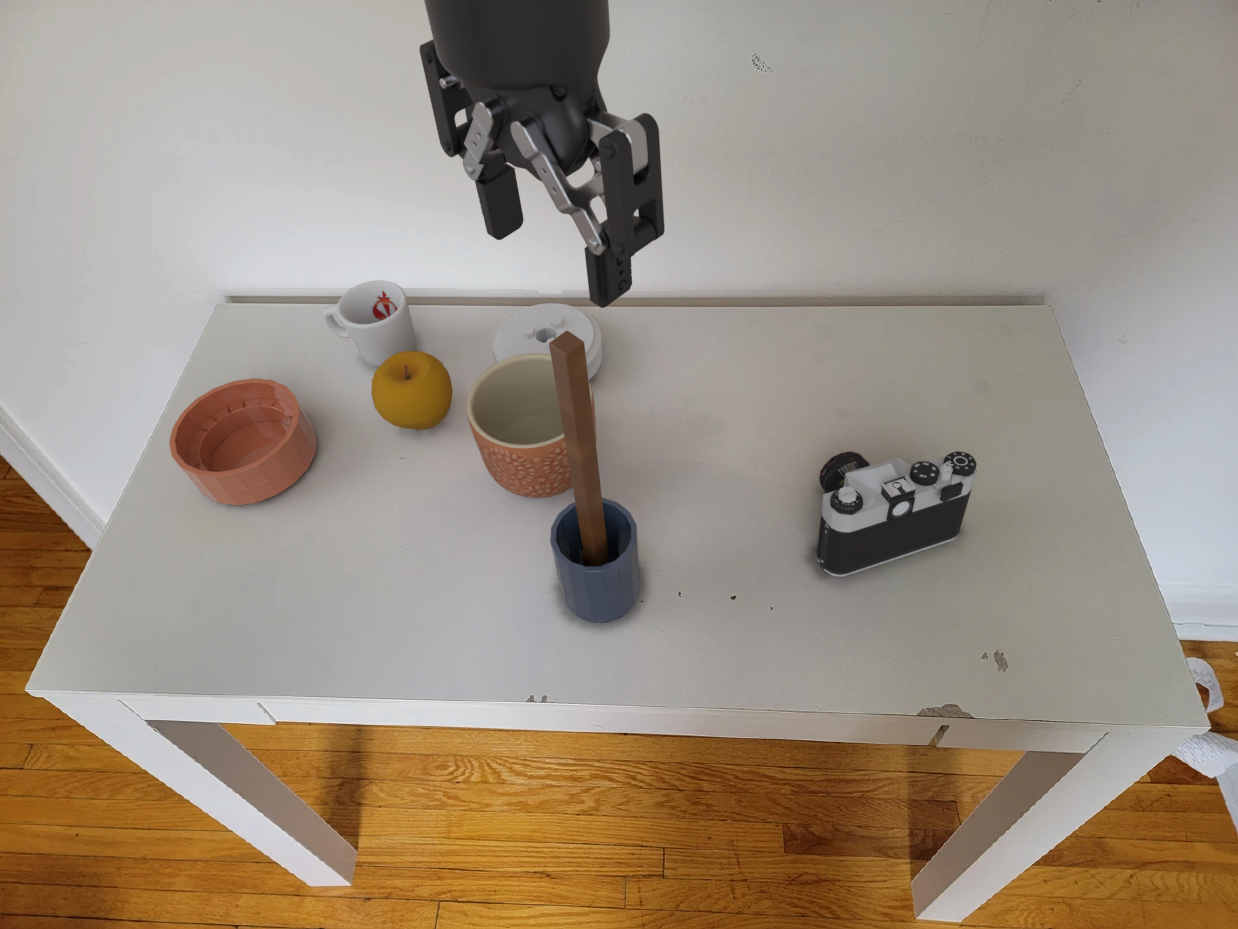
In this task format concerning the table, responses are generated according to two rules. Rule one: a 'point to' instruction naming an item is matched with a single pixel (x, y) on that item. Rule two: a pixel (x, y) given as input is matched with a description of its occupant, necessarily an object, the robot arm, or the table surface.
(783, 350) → the table surface
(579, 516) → the stick
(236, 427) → the bowl
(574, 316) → the white thick round disc
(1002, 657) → the table surface
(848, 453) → the camera
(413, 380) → the apple
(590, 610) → the crock
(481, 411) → the planter
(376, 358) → the cup
